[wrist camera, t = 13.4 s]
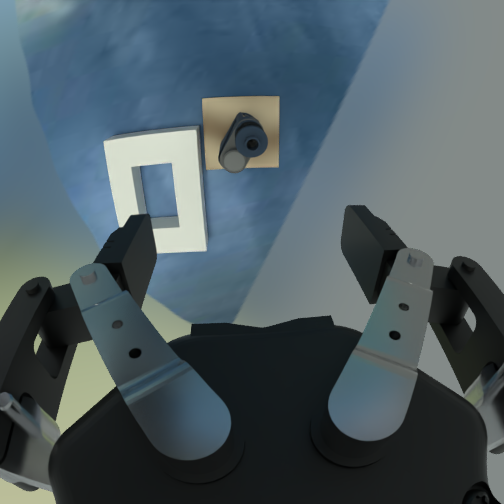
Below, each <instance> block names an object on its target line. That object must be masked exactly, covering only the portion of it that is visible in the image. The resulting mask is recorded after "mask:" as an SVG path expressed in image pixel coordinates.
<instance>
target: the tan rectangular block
mask: <svg viewBox="0 0 504 504" xmlns="http://www.w3.org/2000/svg"><path fill="white" fill-rule="evenodd" d="M202 108H203V127H204V144H205V160H206V170H212V169H224V168H223V167H222V166H221V165H220V163H219V161H218V155H219V149H220V144H221V141H222V140H223V138H224V137H225V135H226V133H227V131H228V130H229V128H230V126H231V124H232V122H233V121H234V119H235V117H236V115H237V114H238V113H239V112H241V113H248V114H250V115H252V116H253V117H254V118H255V119H257V120H259V123H260V124H261V125H262V127H263V129H264V132H265V133H266V135H267V138H268V146H267V148H266V150H265V152H264V153H263V154H261V155H260V156H258V157H253V158H250V160H249V162H248V163H247V165H246V167H245V168H261V167H279V96H239V97H216V98H202Z"/></svg>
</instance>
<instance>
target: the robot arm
mask: <svg viewBox="0 0 504 504" xmlns="http://www.w3.org/2000/svg"><path fill="white" fill-rule="evenodd" d="M341 249H342V252H343V255H344V256H345V258H346V260H347V262H348V264H349V266H350V267H351V269H352V271H353V273H354V275H355V276H356V279H357V281H358V282H359V284H360V286H361V288H362V290H363V292H364V294H365V296H366V298H367V300H368V302H369V304H376V305H375V307H374V310H373V312H372V314H371V316H370V319H369V321H368V323H367V325H366V328H365V330H364V332H363V333H361V332H359V331H357V330H354V329H351V328H347V327H343V326H336V325H334V323H333V320H332V318H331V315H330V316H321V317H310V318H298V319H294V320H291V321H287V322H284V323H280V324H276V325H273V326H269V327H264V328H260V327H252V326H245V325H237V324H230V323H210V324H192V326H191V334H190V335H185V336H182V337H179V338H177V339H175V340H172V341H170V342H169V343H166V341H165V340H164V339H163V338H162V336H161V335H160V334H159V333H158V331H157V330H156V329H155V327H154V326H153V325H152V324H151V322H150V321H149V320H148V318H147V317H146V316H145V314H144V313H143V312H142V310H141V307H142V304H143V301H144V298H145V294H146V291H147V288H148V285H149V282H150V279H151V276H152V273H153V270H154V267H155V264H156V260H157V249H156V244H155V239H154V234H153V228H152V223H151V218H150V215H149V214H136V215H130V217H129V218H128V220H127V221H126V223H125V225H124V226H123V227H119V228H118V229H117V230H115V231H114V232H113V233H112V234H111V235H110V236H109V238H108V240H107V242H106V243H105V244H104V246H103V248H102V249H101V251H100V252H99V254H98V256H97V257H96V259H95V261H94V262H93V263H92V264H88V265H85V266H83V267H81V268H79V269H78V270H76V271H75V272H74V273H73V274H72V276H71V278H70V283H69V284H66V285H62V286H58V287H54V288H52V286H51V283H50V281H49V280H48V278H46V277H37V278H33V279H31V280H29V281H28V282H26V283H25V284H24V285H22V287H21V288H20V289H19V291H18V292H17V294H16V296H15V297H14V299H13V300H12V302H11V304H10V305H9V307H8V309H7V310H6V312H5V314H4V316H3V317H2V319H1V321H0V478H2V479H4V480H5V481H7V482H10V483H12V484H14V485H16V486H18V487H19V488H21V489H23V490H26V491H35V490H37V489H39V488H41V489H45V490H48V491H52V492H53V494H54V497H55V500H56V504H501V503H500V502H498V501H497V500H496V498H495V497H494V496H493V494H492V493H491V490H490V488H489V485H488V478H487V463H486V462H487V452H488V451H489V452H491V453H494V454H500V453H503V452H504V294H503V293H502V292H501V290H500V289H499V288H498V287H497V285H496V284H495V283H494V282H493V280H492V279H491V278H490V277H489V276H488V274H487V273H486V272H485V271H484V270H483V268H482V267H481V266H480V265H479V264H478V263H477V262H475V261H473V260H472V259H470V258H467V257H462V256H457V257H455V258H453V260H452V263H451V265H450V268H447V267H441V266H434V262H433V260H432V258H431V257H430V256H429V255H428V254H426V253H425V252H423V251H420V250H418V249H413V248H407V247H406V245H405V244H404V243H403V242H402V240H401V239H400V238H399V237H398V236H397V235H396V234H395V232H394V231H393V230H391V228H390V227H389V226H388V224H387V223H386V222H385V221H383V220H381V219H380V218H378V217H376V216H374V215H373V214H372V213H371V212H370V211H369V209H367V207H366V206H365V205H348V206H347V207H346V209H345V214H344V221H343V229H342V236H341ZM468 307H470V309H471V310H472V312H473V313H474V315H475V317H476V328H475V330H474V332H472V330H471V328H470V327H469V325H468V323H467V322H466V320H465V319H464V316H465V313H466V312H467V310H468ZM428 322H429V323H430V325H431V327H432V329H433V331H434V333H435V335H436V336H437V338H438V340H439V342H440V344H441V346H442V348H443V350H444V352H445V354H446V356H447V358H448V360H449V362H450V365H451V367H452V368H453V371H454V373H455V375H456V377H457V380H458V381H459V384H460V386H461V388H462V391H463V393H464V398H463V397H461V396H460V395H458V394H457V393H455V392H454V391H452V390H451V389H449V388H447V387H446V386H444V385H443V384H441V383H440V382H438V381H436V380H435V379H433V378H432V377H430V376H429V375H427V374H426V373H424V372H423V371H421V370H420V369H418V368H417V366H418V362H419V358H420V353H421V350H422V346H423V341H424V337H425V332H426V328H427V323H428ZM37 334H39V335H40V337H41V338H42V341H41V343H40V346H39V348H38V351H37V353H36V355H35V352H34V341H35V339H36V336H37ZM90 340H93V341H94V343H95V345H96V347H97V349H98V351H99V353H100V355H101V357H102V359H103V361H104V363H105V365H106V367H107V369H108V371H109V373H110V375H111V377H112V378H113V380H114V382H115V384H116V387H115V388H114V389H112V390H111V391H110V392H109V393H108V394H107V395H106V396H105V397H103V398H102V399H101V400H100V401H99V402H98V403H97V404H96V405H94V406H93V407H92V408H91V409H90V410H89V411H88V412H86V413H85V414H84V415H83V416H82V417H81V418H80V419H78V420H77V421H76V422H75V423H74V424H73V425H72V426H71V427H69V428H68V429H67V430H66V431H65V432H64V433H63V434H62V435H61V436H60V430H59V427H58V425H57V423H56V422H55V421H56V417H57V413H58V409H59V405H60V401H61V397H62V394H63V390H64V386H65V383H66V379H67V376H68V373H69V369H70V366H71V363H72V360H73V357H74V353H75V350H76V347H77V344H78V343H81V342H85V341H90Z"/></svg>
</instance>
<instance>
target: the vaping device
mask: <svg viewBox="0 0 504 504" xmlns="http://www.w3.org/2000/svg"><path fill="white" fill-rule="evenodd" d="M267 146H268V138H267V135H266V133H265V132H264V129H263V127H262V125H261V124H260V123H259V120H257V119H255V118H254V117H253V116H252V115H250V114H248V113H241V112H239V113H238V114H237V115H236V117H235V119H234V121H233V122H232V124H231V126H230V128H229V130H228V131H227V133H226V135H225V137H224V138H223V140H222V141H221V144H220V149H219V155H218V161H219V163H220V165H221V166H222V167H223V168H224V169H225V170H227V171H228V172H230V173H238V172H241V171H242V170H243V169H244V168H245V167H246V165H247V163H248V162H249V160H250V158H253V157H258V156H260V155H261V154H263V153H264V152H265V150H266V148H267Z"/></svg>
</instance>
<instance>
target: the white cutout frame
mask: <svg viewBox="0 0 504 504" xmlns="http://www.w3.org/2000/svg"><path fill="white" fill-rule="evenodd" d="M104 148H105V155H106V161H107V167H108V173H109V179H110V184H111V189H112V194H113V199H114V204H115V209H116V214H117V218H118V223H119V227H123V226H124V225H125V223H126V221H127V220H128V218H129V217H130V215H136V214H147V210H146V204H145V198H144V192H143V185H142V179H141V172H140V166H144V165H153V164H163V163H172V168H173V178H174V186H175V195H176V203H177V210H178V216H173V217H157V218H151V223H152V228H153V234H154V239H155V244H156V249H157V253H173V252H195V251H207V244H208V231H207V221H206V210H205V198H204V186H203V173H202V159H201V145H200V129H199V125H198V126H186V127H175V128H165V129H156V130H148V131H141V132H134V133H127V134H120V135H114V136H112V137H110V138H108V139H106V140H105V141H104Z"/></svg>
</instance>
